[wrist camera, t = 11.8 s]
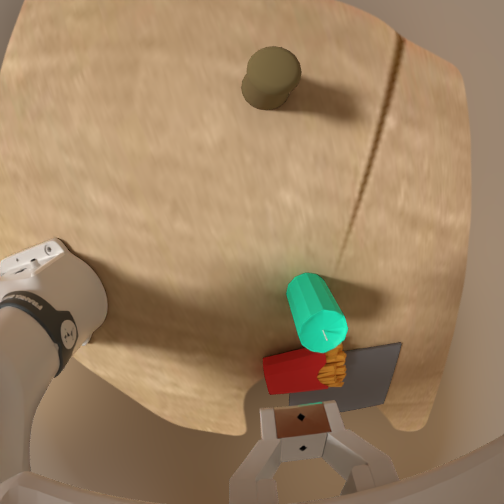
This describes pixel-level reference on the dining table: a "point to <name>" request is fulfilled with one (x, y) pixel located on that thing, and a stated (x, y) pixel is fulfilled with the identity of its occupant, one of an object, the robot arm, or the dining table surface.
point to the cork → (270, 77)
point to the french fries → (304, 370)
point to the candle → (316, 313)
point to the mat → (358, 380)
